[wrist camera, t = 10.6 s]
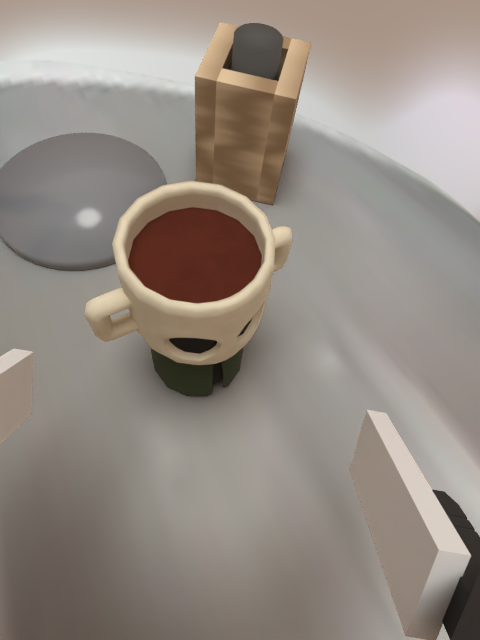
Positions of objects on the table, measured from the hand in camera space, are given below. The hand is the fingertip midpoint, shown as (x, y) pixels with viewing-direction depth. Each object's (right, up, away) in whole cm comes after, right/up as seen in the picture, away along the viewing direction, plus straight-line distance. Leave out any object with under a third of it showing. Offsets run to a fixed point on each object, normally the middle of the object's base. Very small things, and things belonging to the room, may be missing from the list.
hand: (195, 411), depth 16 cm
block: (+2, +18, +22) cm, 28 cm away
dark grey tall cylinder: (+2, +18, +21) cm, 28 cm away
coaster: (-11, +14, +18) cm, 26 cm away
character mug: (-1, +1, +13) cm, 13 cm away
